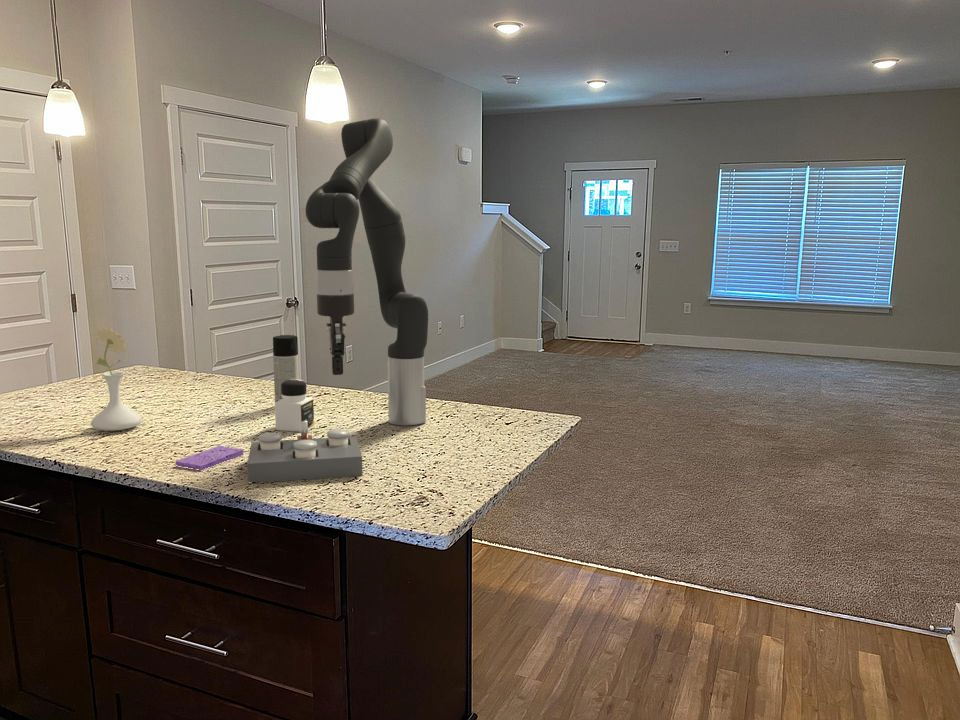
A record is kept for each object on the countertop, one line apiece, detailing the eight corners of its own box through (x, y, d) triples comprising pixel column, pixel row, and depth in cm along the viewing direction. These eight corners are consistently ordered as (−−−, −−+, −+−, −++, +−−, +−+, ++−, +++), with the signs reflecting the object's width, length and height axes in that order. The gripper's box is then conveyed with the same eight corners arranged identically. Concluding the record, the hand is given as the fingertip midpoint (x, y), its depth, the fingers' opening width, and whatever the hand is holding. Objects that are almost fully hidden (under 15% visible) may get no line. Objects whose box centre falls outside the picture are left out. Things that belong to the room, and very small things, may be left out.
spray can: (304, 405, 204) (302, 335, 200) (290, 411, 198) (288, 338, 194) (284, 403, 206) (281, 334, 202) (270, 409, 200) (267, 337, 196)
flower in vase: (150, 428, 179) (143, 328, 175) (101, 437, 171) (92, 332, 166) (129, 418, 188) (121, 323, 183) (81, 427, 180) (72, 326, 175)
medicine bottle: (302, 432, 177) (300, 384, 175) (275, 430, 178) (273, 382, 176) (314, 424, 184) (313, 378, 182) (288, 423, 185) (286, 377, 183)
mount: (356, 453, 161) (355, 436, 160) (362, 475, 146) (362, 456, 146) (252, 460, 155) (251, 442, 154) (248, 483, 141) (247, 463, 140)
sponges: (244, 457, 159) (243, 448, 159) (200, 473, 148) (200, 465, 147) (219, 452, 162) (219, 444, 162) (175, 468, 150) (174, 460, 150)
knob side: (317, 466, 150) (316, 439, 149) (317, 473, 146) (317, 445, 145) (294, 467, 149) (293, 440, 148) (294, 475, 145) (293, 447, 144)
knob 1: (282, 458, 155) (281, 432, 154) (282, 465, 151) (281, 438, 150) (260, 459, 154) (259, 433, 153) (259, 466, 150) (258, 439, 149)
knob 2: (348, 454, 158) (348, 428, 157) (350, 460, 154) (349, 434, 153) (327, 455, 157) (326, 429, 156) (328, 462, 153) (327, 435, 152)
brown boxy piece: (311, 441, 155) (311, 419, 154) (312, 445, 152) (311, 422, 151) (297, 442, 154) (296, 420, 154) (297, 446, 152) (296, 423, 151)
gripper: (356, 294, 144) (358, 379, 147) (351, 289, 157) (353, 367, 160) (318, 295, 142) (320, 381, 145) (315, 289, 155) (318, 369, 158)
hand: (337, 374), depth 153 cm, fingers closed
